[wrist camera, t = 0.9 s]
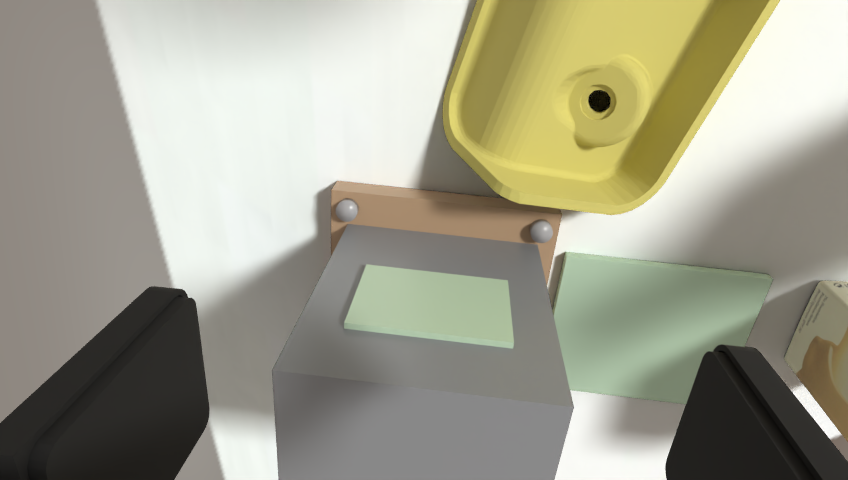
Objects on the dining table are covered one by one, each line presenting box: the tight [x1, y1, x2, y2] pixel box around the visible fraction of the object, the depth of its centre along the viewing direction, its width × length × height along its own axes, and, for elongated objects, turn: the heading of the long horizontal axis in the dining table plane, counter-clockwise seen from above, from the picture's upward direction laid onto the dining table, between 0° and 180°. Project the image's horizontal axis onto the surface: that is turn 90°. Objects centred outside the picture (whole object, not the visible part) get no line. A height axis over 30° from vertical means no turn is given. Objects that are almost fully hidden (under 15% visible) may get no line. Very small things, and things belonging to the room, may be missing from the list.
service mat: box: [552, 252, 773, 404], centre depth 34 cm, size 10×12×1 cm
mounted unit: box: [272, 181, 574, 480], centre depth 28 cm, size 12×13×14 cm
